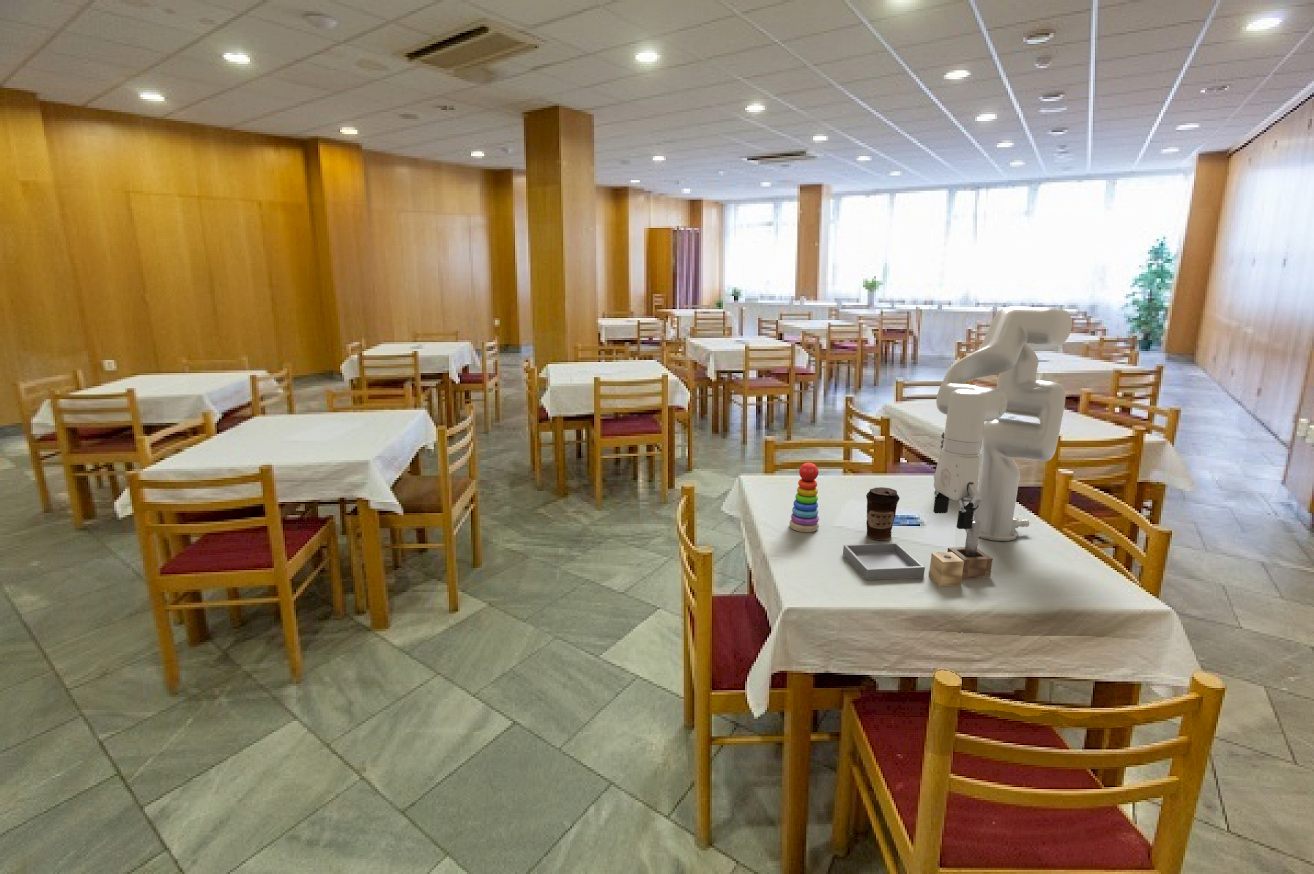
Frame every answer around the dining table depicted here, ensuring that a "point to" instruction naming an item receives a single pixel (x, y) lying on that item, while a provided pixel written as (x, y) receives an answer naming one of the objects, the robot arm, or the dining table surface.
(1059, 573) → the dining table surface
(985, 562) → the go block
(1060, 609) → the dining table surface
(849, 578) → the dining table surface
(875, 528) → the coffee cup
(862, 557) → the tray
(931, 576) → the oak block
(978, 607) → the dining table surface
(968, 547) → the cylinder
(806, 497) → the stacking toy
